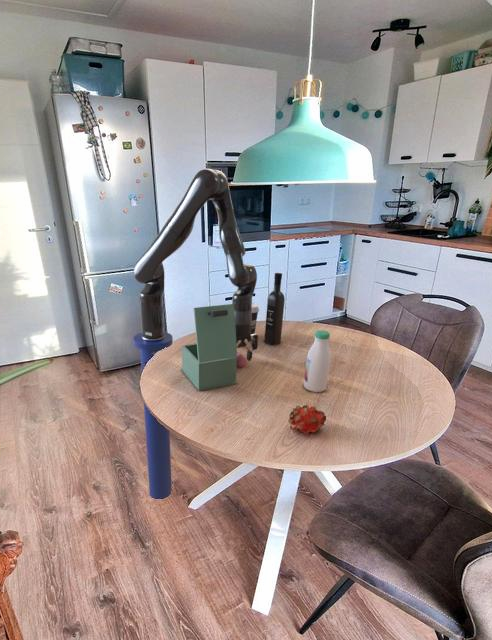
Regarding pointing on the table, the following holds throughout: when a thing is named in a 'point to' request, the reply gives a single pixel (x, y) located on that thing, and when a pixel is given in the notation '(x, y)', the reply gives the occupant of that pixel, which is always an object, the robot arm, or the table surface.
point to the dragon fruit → (306, 419)
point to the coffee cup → (254, 317)
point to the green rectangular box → (207, 369)
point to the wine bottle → (274, 313)
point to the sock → (241, 360)
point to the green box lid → (215, 332)
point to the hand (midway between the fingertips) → (239, 361)
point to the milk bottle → (318, 363)
